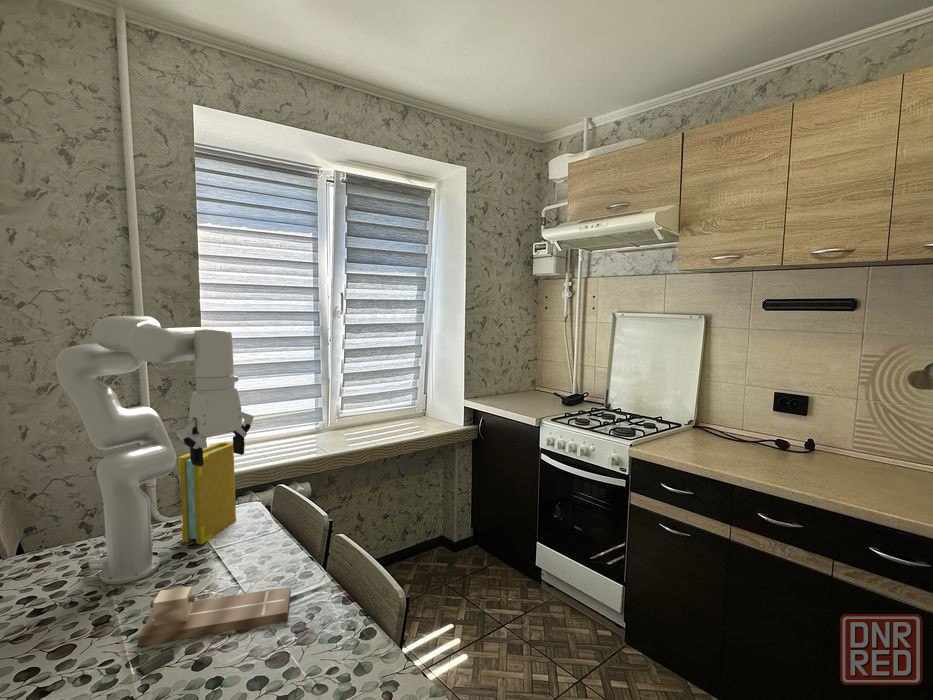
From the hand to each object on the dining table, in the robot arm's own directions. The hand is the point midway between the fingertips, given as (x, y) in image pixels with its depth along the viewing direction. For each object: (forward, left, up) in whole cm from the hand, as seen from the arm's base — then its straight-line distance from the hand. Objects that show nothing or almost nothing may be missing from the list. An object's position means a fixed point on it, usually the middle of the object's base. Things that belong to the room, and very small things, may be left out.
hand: (219, 459), depth 108 cm
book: (-11, +40, -34) cm, 54 cm away
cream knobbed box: (-8, -7, -32) cm, 33 cm away
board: (+1, -7, -34) cm, 34 cm away
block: (-8, -18, -34) cm, 40 cm away
